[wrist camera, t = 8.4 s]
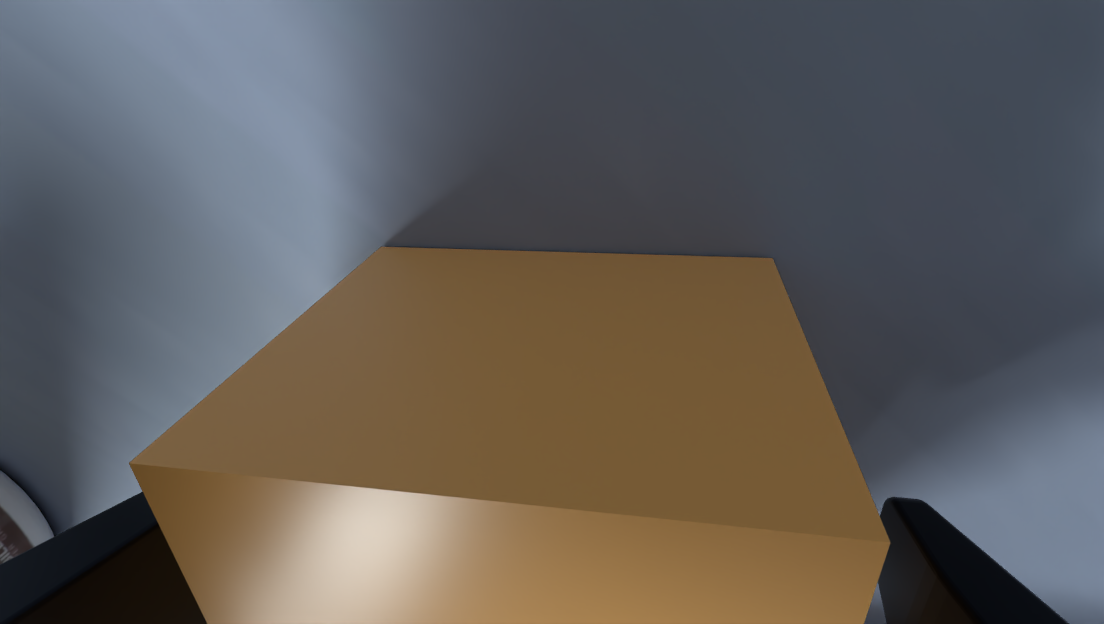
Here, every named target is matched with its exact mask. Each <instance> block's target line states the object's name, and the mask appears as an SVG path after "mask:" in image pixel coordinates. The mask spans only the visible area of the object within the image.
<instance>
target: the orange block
mask: <svg viewBox="0 0 1104 624" xmlns="http://www.w3.org/2000/svg"><path fill="white" fill-rule="evenodd" d="M129 465H130V467H131V469H132V471H133V473H134V475H135V477H136V479H137V481H138V483H139V485H140V487H141V489H142V491H143V493H144V495H145V497H146V499H147V501H148V503H149V505H150V507H151V510H152V512H153V514H154V516H155V518H156V520H157V522H158V524H159V526H160V528H161V530H162V532H163V534H164V536H165V538H166V540H167V542H168V544H169V546H170V548H171V550H172V552H173V554H174V557H175V559H176V561H177V563H178V565H179V567H180V569H181V571H182V573H183V575H184V577H185V579H186V581H187V583H188V585H189V587H190V589H191V591H192V593H193V595H194V597H195V599H196V601H197V604H198V606H199V608H200V610H201V612H202V614H203V616H204V618H205V620H206V622H207V624H864V622H865V619H866V615H867V612H868V609H869V606H870V603H871V600H872V597H873V594H874V591H875V588H876V585H877V582H878V579H879V576H880V573H881V570H882V567H883V564H884V561H885V558H886V555H887V552H888V549H889V546H890V543H891V542H890V540H889V538H888V535H887V533H886V530H885V528H884V526H883V523H882V521H881V518H880V516H879V514H878V511H877V509H876V506H875V504H874V501H873V499H872V497H871V494H870V492H869V489H868V487H867V485H866V482H865V480H864V477H863V475H862V473H861V470H860V468H859V465H858V463H857V460H856V458H855V456H854V453H853V451H852V448H851V446H850V444H849V441H848V439H847V436H846V434H845V432H844V429H843V427H842V424H841V422H840V419H839V417H838V415H837V412H836V410H835V407H834V405H833V403H832V400H831V398H830V395H829V393H828V391H827V388H826V386H825V383H824V381H823V378H822V376H821V374H820V371H819V369H818V366H817V364H816V362H815V359H814V357H813V354H812V352H811V350H810V347H809V345H808V342H807V340H806V337H805V335H804V333H803V330H802V328H801V325H800V323H799V321H798V318H797V316H796V313H795V311H794V309H793V306H792V304H791V301H790V299H789V296H788V294H787V292H786V289H785V287H784V284H783V282H782V280H781V277H780V275H779V272H778V270H777V268H776V265H775V263H774V260H773V258H751V257H717V256H683V255H648V254H614V253H580V252H545V251H511V250H476V249H442V248H408V247H380V248H379V249H378V250H377V251H376V252H374V253H373V254H372V255H371V256H370V257H369V258H367V259H366V260H365V261H364V262H363V263H362V264H360V265H359V266H358V267H357V268H356V269H355V270H353V271H352V272H351V273H350V274H349V275H348V276H346V277H345V278H344V279H343V280H342V281H341V282H339V283H338V284H337V285H336V286H335V287H334V288H332V289H331V290H330V291H329V292H328V293H327V294H325V295H324V296H323V297H322V298H321V299H320V300H318V301H317V302H316V303H315V304H314V305H313V306H311V307H310V308H309V309H308V310H307V311H306V312H304V313H303V314H302V315H301V316H300V317H299V318H297V319H296V320H295V321H294V322H293V323H292V324H290V325H289V326H288V327H287V328H286V329H285V330H283V331H282V332H281V333H280V334H279V335H278V336H276V337H275V338H274V339H273V340H272V341H271V342H269V343H268V344H267V345H266V346H265V347H264V348H262V349H261V350H260V351H259V352H258V353H257V354H255V355H254V356H253V357H252V358H251V359H250V360H248V361H247V362H246V363H245V364H244V365H243V366H241V367H240V368H239V369H238V370H237V371H236V372H234V373H233V374H232V375H231V376H230V377H229V378H227V379H226V380H225V381H224V382H223V383H222V384H221V385H219V386H218V387H217V388H216V389H215V390H214V391H212V392H211V393H210V394H209V395H208V396H207V397H205V398H204V399H203V400H202V401H201V402H200V403H198V404H197V405H196V406H195V407H194V408H193V409H191V410H190V411H189V412H188V413H187V414H186V415H184V416H183V417H182V418H181V419H180V420H179V421H177V422H176V423H175V424H174V425H173V426H172V427H170V428H169V429H168V430H167V431H166V432H165V433H163V434H162V435H161V436H160V437H159V438H158V439H156V440H155V441H154V442H153V443H152V444H151V445H149V446H148V447H147V448H146V449H145V450H144V451H142V452H141V453H140V454H139V455H138V456H137V457H135V458H134V459H133V460H132V461H131V462H130V463H129Z"/></svg>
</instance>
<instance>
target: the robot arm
mask: <svg viewBox="0 0 1104 624" xmlns="http://www.w3.org/2000/svg"><path fill="white" fill-rule="evenodd" d="M880 518H881V521H882V523H883V526H884V528H885V530H886V533H887V535H888V538H889V540H890V542H891V543H890V546H889V549H888V552H887V555H886V558H885V561H884V564H883V567H882V570H881V573H880V576H879V579H878V584H879V589H880V593H881V598H882V603H883V607H884V612H885V617H886V621H887V624H1069V623H1068V622H1067V621H1066V620H1064V619H1063V618H1062V617H1061V616H1060V615H1058V614H1057V613H1056V612H1055V611H1054V610H1053V609H1051V608H1050V607H1049V606H1048V605H1047V604H1045V603H1044V602H1043V601H1042V600H1041V599H1040V598H1038V597H1037V596H1036V595H1035V594H1034V593H1032V592H1031V591H1030V590H1029V589H1028V588H1026V587H1025V586H1024V585H1023V584H1022V583H1021V582H1019V581H1018V580H1017V579H1016V578H1015V577H1013V576H1012V575H1011V574H1010V573H1009V572H1008V571H1006V570H1005V569H1004V568H1003V567H1002V566H1000V565H999V564H998V563H997V562H996V561H995V560H993V559H992V558H991V557H990V556H989V555H987V554H986V553H985V552H984V551H983V550H982V549H980V548H979V547H978V546H977V545H976V544H974V543H973V542H972V541H971V540H970V539H969V538H967V537H966V536H965V535H964V534H963V533H961V532H960V531H959V530H958V529H957V528H956V527H954V526H953V525H952V524H951V523H950V522H948V521H947V520H946V519H945V518H944V517H942V516H941V515H940V514H939V513H938V512H937V511H935V510H934V509H933V508H932V507H931V506H929V505H928V504H927V503H925V502H924V501H922V500H919V499H911V498H901V497H890V498H888V499H887V500H886V501H885V503H884V505H883V508H882V511H881V514H880ZM0 624H207V622H206V620H205V618H204V616H203V614H202V612H201V610H200V608H199V606H198V604H197V601H196V599H195V597H194V595H193V593H192V591H191V589H190V587H189V585H188V583H187V581H186V579H185V577H184V575H183V573H182V571H181V569H180V567H179V565H178V563H177V561H176V559H175V557H174V554H173V552H172V550H171V548H170V546H169V544H168V542H167V540H166V538H165V536H164V534H163V532H162V530H161V528H160V526H159V524H158V522H157V520H156V518H155V516H154V514H153V512H152V510H151V507H150V505H149V503H148V501H147V499H146V497H145V495H144V493H143V492H141V493H139V494H137V495H135V496H133V497H131V498H129V499H127V500H125V501H123V502H121V503H119V504H117V505H115V506H113V507H111V508H110V509H108V510H106V511H104V512H102V513H100V514H98V515H96V516H94V517H92V518H90V519H88V520H86V521H84V522H82V523H80V524H78V525H76V526H74V527H72V528H70V529H68V530H66V531H64V532H62V533H61V534H59V535H57V536H55V537H53V538H51V539H49V540H47V541H45V542H43V543H41V544H39V545H37V546H35V547H33V548H31V549H29V550H27V551H25V552H23V553H21V554H19V555H17V556H15V557H13V558H12V559H10V560H8V561H6V562H4V563H2V564H0Z"/></svg>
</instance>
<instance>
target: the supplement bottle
mask: <svg viewBox="0 0 1104 624" xmlns="http://www.w3.org/2000/svg"><path fill="white" fill-rule="evenodd" d="M53 537H54V535H53V532H52V530H51V528H50V526H49V524H48V522H47V521H46V519H45V517H44V516H43V514H42V513H41V512H40V510H39V509H38V507H37V506H36V505H35V503H34V502H33V501H32V500H31V499H30V497H29V496H28V495H27V494H26V493H25V492H24V491H23V490H22V489H21V488H20V487H19V486H18V485H17V484H16V483H15V482H14V481H13V480H11V479H10V478H9V477H8V476H7V475H6V474H5V473H3V472H2V471H0V564H2V563H4V562H6V561H8V560H10V559H12V558H13V557H15V556H17V555H19V554H21V553H23V552H25V551H27V550H29V549H31V548H33V547H35V546H37V545H39V544H41V543H43V542H45V541H47V540H49V539H51V538H53Z"/></svg>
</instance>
